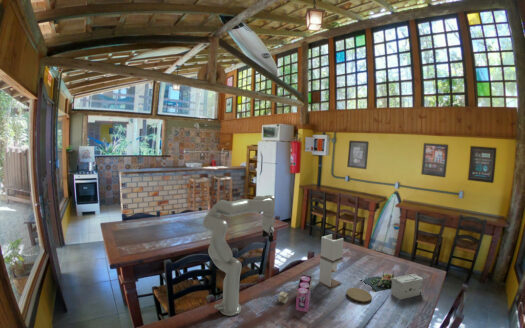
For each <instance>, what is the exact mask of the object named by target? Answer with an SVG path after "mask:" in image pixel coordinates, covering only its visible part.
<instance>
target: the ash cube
mask: <svg viewBox="0 0 525 328" xmlns="http://www.w3.org/2000/svg"><path fill="white" fill-rule="evenodd" d="M288 300H289V293H288V292H284V291H281V292H280V293H279V294H278V302H279V303H282V304H286V303H287V301H288Z"/></svg>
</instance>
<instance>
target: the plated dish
mask: <svg viewBox="0 0 525 328" xmlns="http://www.w3.org/2000/svg"><path fill="white" fill-rule="evenodd" d="M394 272H395V271H392V274H391V273H385V271H383V273H382V275H381V276H370V277H371V278H370V277H365V278H366V279H365V280H364V281H363V282H364V283H365V284H368V285H370V286H371V287H372V290H370V291H371V292H372V293H377V292H381V291H386V290H391V287H392V278H394V277H395V275H394ZM367 278H368V279H367Z"/></svg>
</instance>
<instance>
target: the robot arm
mask: <svg viewBox="0 0 525 328" xmlns="http://www.w3.org/2000/svg"><path fill="white" fill-rule="evenodd" d="M275 205H276V196H274V195H271V194H269V195H268V194H267V195H256V196H255V197H252V199H249V198H242V199H237V200H232V201H228V200H225V199H221V200H218V201H217V202H216V203H215V204H214V205H213V206H212V208H211V209H210V210H209V212H208V213H206V215H205V217H204V218H203V222H202V224H203V225H202V226H203V227H204V229H206V230H207V231H210V232H212V235H211V237H210V240H209V246H208V249H207V251H208V255H209V257H210V259H211V261H212V262H213V264H214V265H215V267H217V268H218V269H219V270H220V271H222V272H224V273H225V277H224V279H223V282H222V283H223V285H222V287H223V289H222V300H221V302H220V303H218V304H214V309H217V310H218V311H220V313H221V314H222V315H225V316H230V317H231V316H235V315H238V314H239V313H240V312H241V311H242V306H241V304H240V303H239V302H240V278H241V277H240V276H241V272H242V266H243V265H242V263H241V261H240V260H239V259H237V258H236V257H234V256H233V251H232V249H231V247H230V246H229V244H228V243H227V240H226V234H227V232H228V228H229V227H228V223H227V221H226V219H224V218H221V216H222V215H223V216H225V217H229V218H230V217H235V216H238V215H243V214H253V213H254V214H255V213H262V221H261V229H262V237H263V238H264V237H266V238H267V237H268V240H267V241H268V242H269V243H270V242H273V241H274V234H275V222H274V220H275V218H274V217H275Z"/></svg>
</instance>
